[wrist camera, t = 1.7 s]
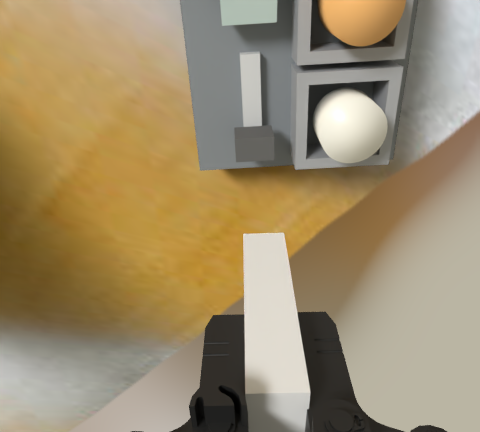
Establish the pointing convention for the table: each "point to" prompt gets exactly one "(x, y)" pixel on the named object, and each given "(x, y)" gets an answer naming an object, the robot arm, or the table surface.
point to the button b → (360, 19)
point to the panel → (285, 80)
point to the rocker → (248, 11)
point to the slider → (254, 143)
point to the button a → (349, 125)
